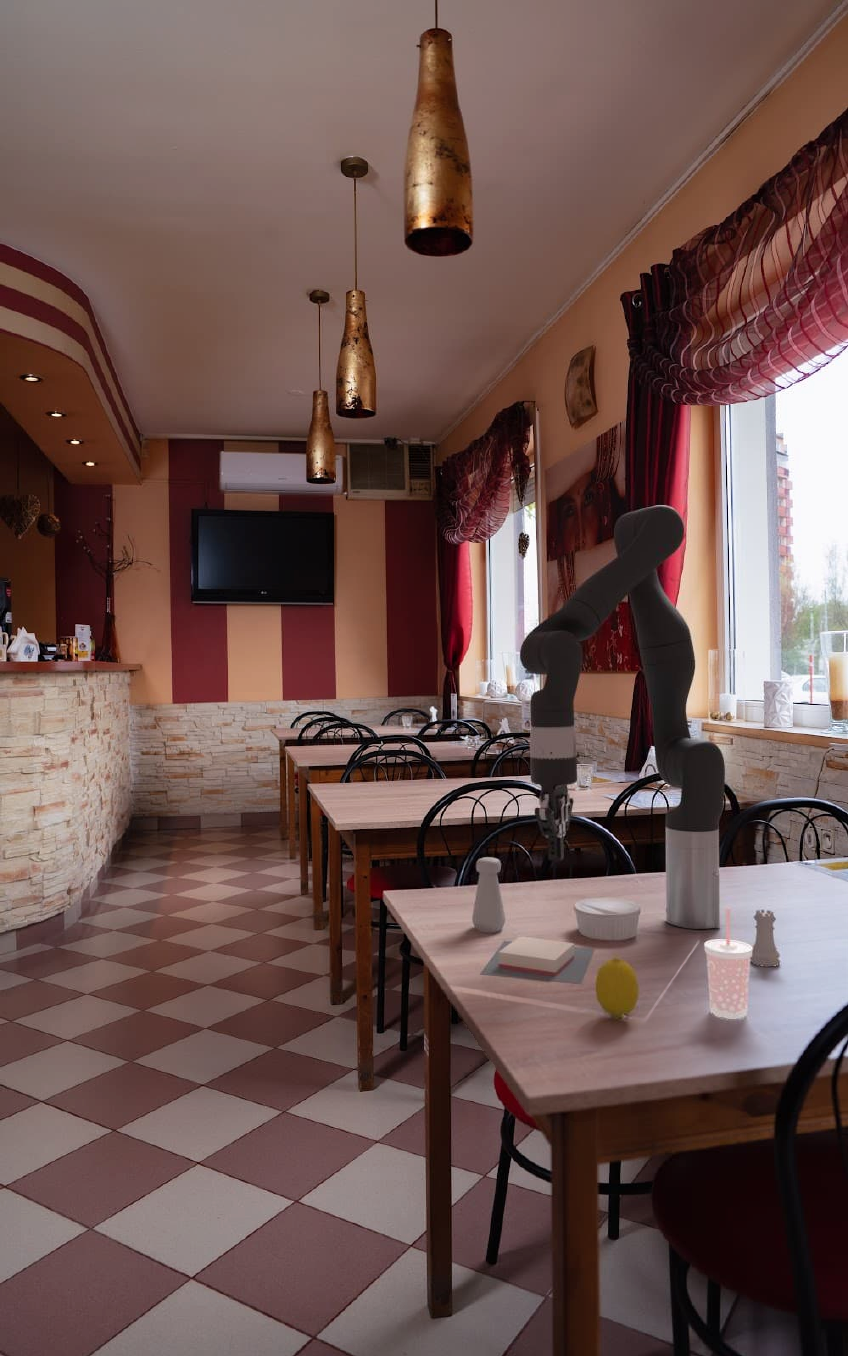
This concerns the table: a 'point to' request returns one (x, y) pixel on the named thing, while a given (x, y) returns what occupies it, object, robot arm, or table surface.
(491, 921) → the salt shaker
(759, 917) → the rook chess piece
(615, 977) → the lemon
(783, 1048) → the table surface
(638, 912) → the ramekin
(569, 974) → the slate mat
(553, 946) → the tile
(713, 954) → the beverage cup
